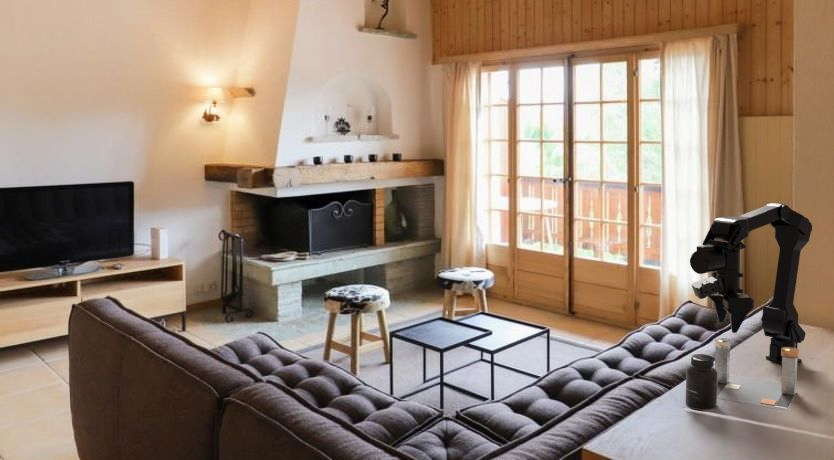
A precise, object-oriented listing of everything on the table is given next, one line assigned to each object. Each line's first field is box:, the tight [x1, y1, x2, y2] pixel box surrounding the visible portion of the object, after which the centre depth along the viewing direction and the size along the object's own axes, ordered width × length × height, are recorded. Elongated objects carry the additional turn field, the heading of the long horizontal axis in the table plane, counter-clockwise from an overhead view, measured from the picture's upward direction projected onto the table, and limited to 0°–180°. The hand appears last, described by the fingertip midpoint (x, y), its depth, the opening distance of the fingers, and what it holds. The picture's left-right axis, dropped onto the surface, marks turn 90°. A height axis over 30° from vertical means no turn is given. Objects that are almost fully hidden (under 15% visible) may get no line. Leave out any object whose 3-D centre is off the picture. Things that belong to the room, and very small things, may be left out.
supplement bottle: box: [685, 353, 718, 412], centre depth 164 cm, size 7×7×12 cm
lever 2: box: [780, 347, 800, 396], centre depth 167 cm, size 4×4×11 cm
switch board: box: [717, 373, 801, 412], centre depth 171 cm, size 18×18×1 cm
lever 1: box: [714, 337, 732, 384], centre depth 176 cm, size 4×4×11 cm
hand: (727, 327), depth 181 cm, fingers open, 9 cm apart
